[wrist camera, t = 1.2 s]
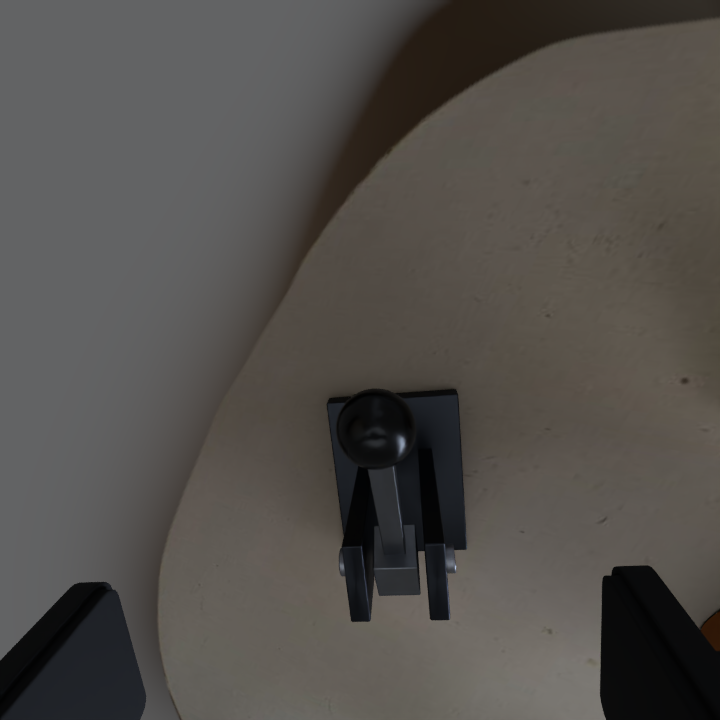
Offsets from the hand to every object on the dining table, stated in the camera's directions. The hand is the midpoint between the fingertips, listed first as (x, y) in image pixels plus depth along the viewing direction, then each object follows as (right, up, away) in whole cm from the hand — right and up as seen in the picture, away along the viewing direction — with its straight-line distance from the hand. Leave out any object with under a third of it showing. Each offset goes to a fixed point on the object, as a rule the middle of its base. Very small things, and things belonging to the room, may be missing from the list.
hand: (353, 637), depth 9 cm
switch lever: (+1, 0, +14) cm, 14 cm away
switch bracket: (+3, -3, +25) cm, 26 cm away
